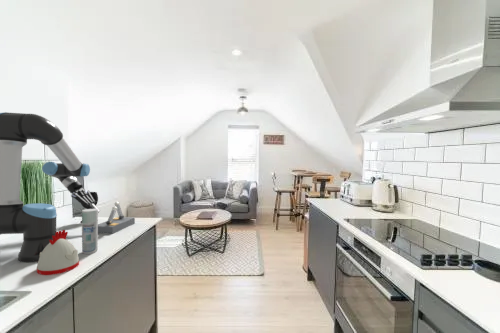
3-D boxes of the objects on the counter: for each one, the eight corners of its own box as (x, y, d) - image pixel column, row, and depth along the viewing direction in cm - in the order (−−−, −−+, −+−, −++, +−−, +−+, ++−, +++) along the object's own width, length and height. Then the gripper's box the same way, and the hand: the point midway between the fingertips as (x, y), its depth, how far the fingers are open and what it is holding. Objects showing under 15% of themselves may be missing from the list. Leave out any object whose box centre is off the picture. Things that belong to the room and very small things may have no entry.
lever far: (122, 218, 170) (116, 201, 170) (118, 219, 170) (112, 203, 170) (125, 217, 173) (119, 201, 173) (121, 218, 173) (115, 202, 173)
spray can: (79, 254, 120) (79, 211, 119) (84, 249, 126) (84, 208, 125) (95, 253, 121) (95, 211, 121) (99, 248, 128) (99, 208, 127)
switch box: (112, 233, 152) (112, 226, 152) (93, 232, 153) (93, 225, 153) (134, 223, 176) (134, 217, 176) (118, 222, 177) (118, 216, 177)
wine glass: (81, 220, 182) (81, 192, 181) (98, 219, 186) (98, 191, 185) (79, 223, 172) (79, 194, 172) (97, 222, 177) (97, 193, 176)
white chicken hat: (86, 261, 112) (86, 227, 112) (60, 276, 98) (60, 237, 98) (57, 259, 113) (57, 226, 113) (27, 273, 100) (26, 235, 99)
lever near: (109, 225, 156) (116, 208, 155) (105, 223, 156) (112, 206, 155) (112, 224, 159) (119, 207, 158) (108, 222, 159) (115, 205, 158)
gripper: (68, 181, 152) (94, 210, 151) (84, 179, 165) (109, 206, 164) (60, 190, 153) (86, 219, 152) (77, 187, 166) (101, 214, 165)
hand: (97, 212), depth 158 cm, fingers closed
